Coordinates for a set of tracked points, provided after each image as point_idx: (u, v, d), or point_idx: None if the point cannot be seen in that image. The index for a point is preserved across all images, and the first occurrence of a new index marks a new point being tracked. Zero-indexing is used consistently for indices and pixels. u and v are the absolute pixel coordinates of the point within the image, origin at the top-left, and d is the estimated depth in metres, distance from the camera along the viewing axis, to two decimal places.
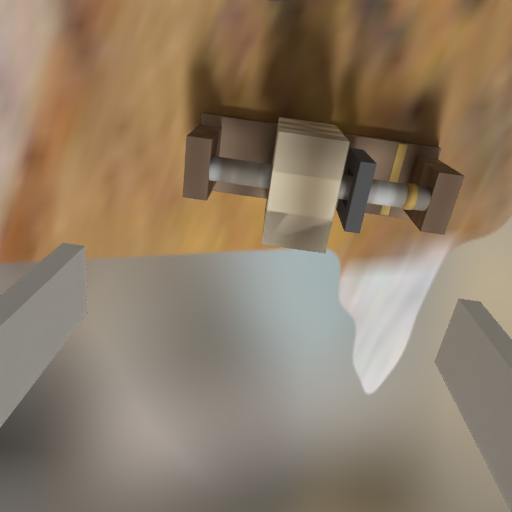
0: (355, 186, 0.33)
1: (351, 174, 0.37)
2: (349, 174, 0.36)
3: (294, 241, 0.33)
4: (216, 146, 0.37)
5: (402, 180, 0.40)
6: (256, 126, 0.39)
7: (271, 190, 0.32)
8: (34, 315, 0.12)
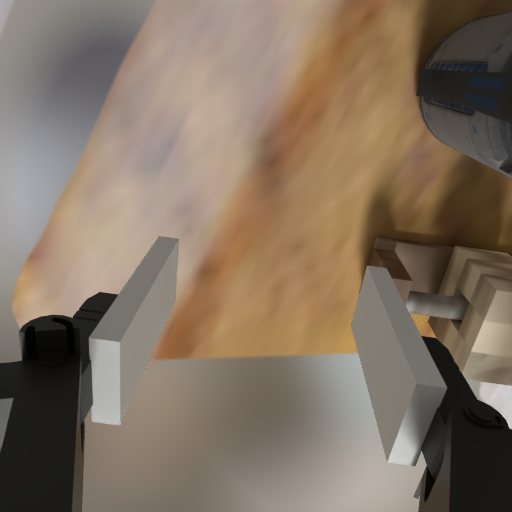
0: None
1: None
2: None
3: (491, 377, 0.36)
4: None
5: None
6: (428, 250, 0.42)
7: (479, 336, 0.34)
8: (154, 298, 0.13)
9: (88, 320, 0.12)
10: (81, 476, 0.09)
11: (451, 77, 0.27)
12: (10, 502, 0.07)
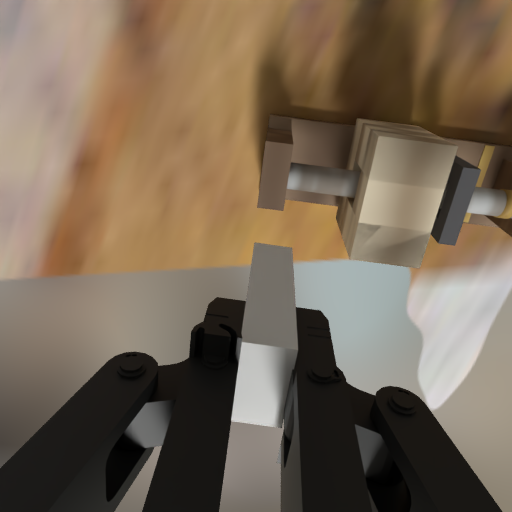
0: (454, 194, 0.30)
1: None
2: None
3: (386, 256, 0.30)
4: None
5: (486, 185, 0.37)
6: (329, 129, 0.36)
7: (365, 200, 0.29)
8: None
9: None
10: None
11: None
12: (167, 490, 0.07)
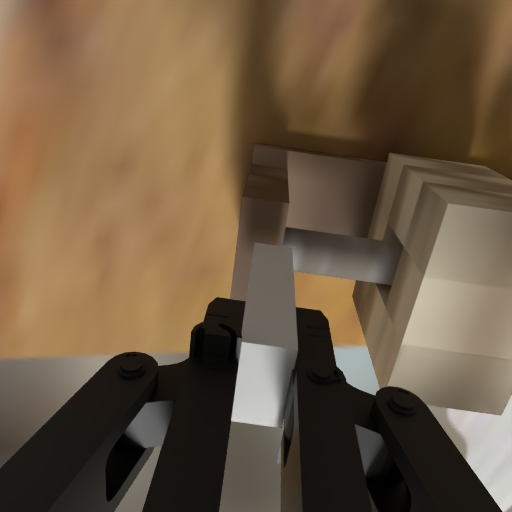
0: None
1: None
2: None
3: (446, 396, 0.18)
4: None
5: None
6: (345, 167, 0.23)
7: (415, 311, 0.16)
8: None
9: None
10: None
11: None
12: (167, 491, 0.07)
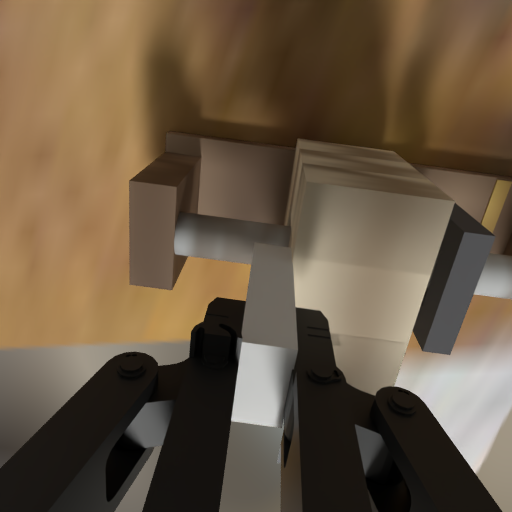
0: (449, 276, 0.17)
1: None
2: None
3: None
4: (190, 191, 0.22)
5: (497, 237, 0.25)
6: (258, 154, 0.23)
7: None
8: None
9: None
10: None
11: None
12: (167, 490, 0.07)
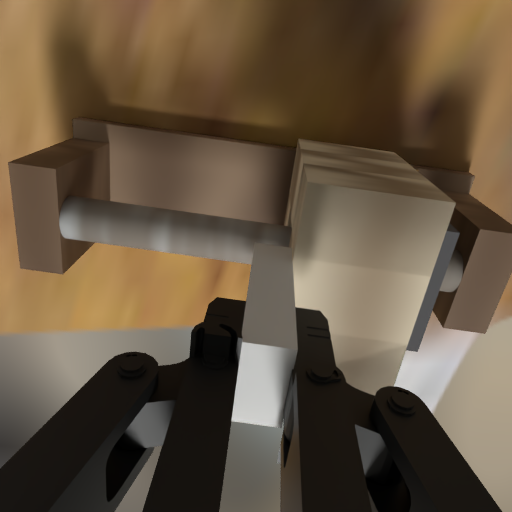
0: None
1: None
2: None
3: None
4: (89, 176, 0.22)
5: None
6: (165, 140, 0.23)
7: None
8: None
9: None
10: None
11: None
12: (167, 490, 0.07)
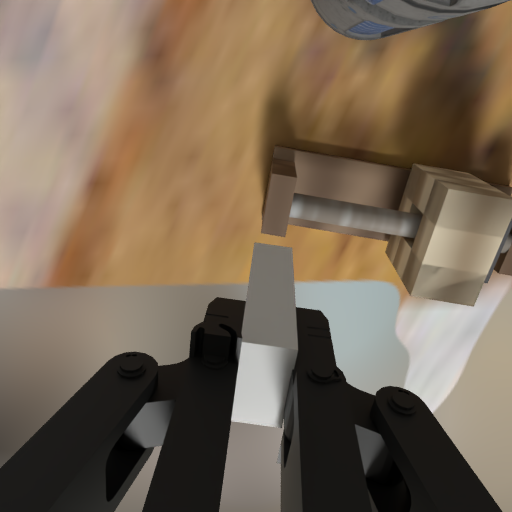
0: None
1: None
2: None
3: (444, 294, 0.33)
4: None
5: None
6: (329, 161, 0.39)
7: (430, 244, 0.31)
8: None
9: None
10: None
11: None
12: (167, 491, 0.07)
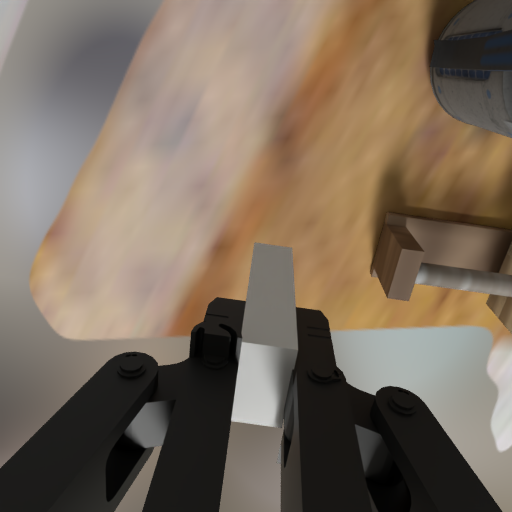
0: None
1: None
2: None
3: None
4: None
5: None
6: (438, 225, 0.43)
7: None
8: None
9: None
10: None
11: (465, 45, 0.28)
12: (167, 491, 0.07)
